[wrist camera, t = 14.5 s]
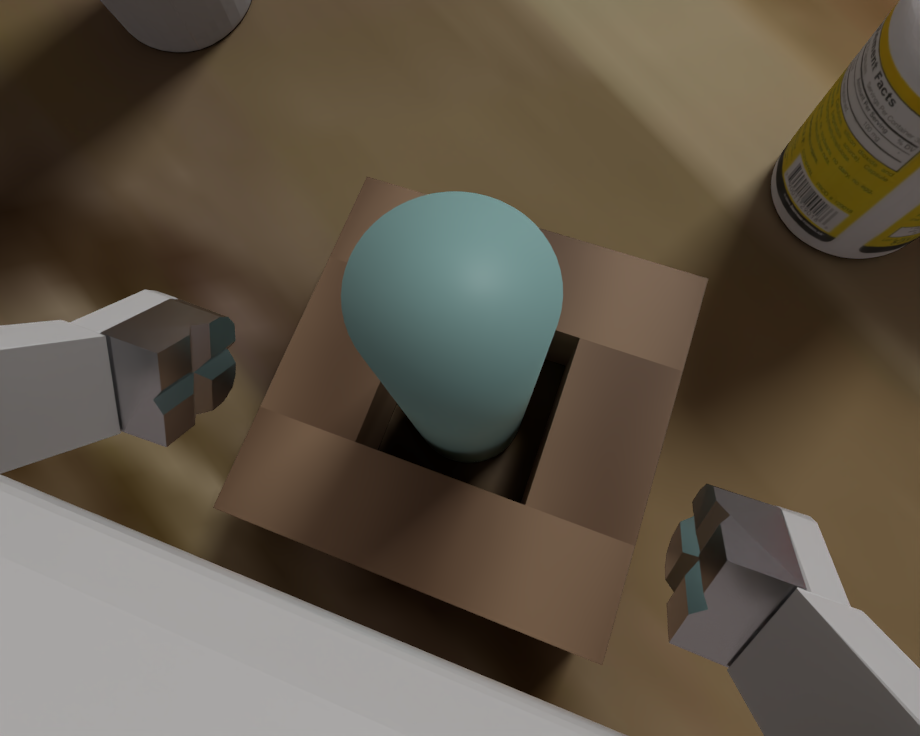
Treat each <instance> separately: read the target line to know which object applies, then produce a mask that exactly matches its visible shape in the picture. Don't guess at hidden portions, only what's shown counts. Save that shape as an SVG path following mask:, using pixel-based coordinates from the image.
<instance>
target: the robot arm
mask: <svg viewBox="0 0 920 736" xmlns="http://www.w3.org/2000/svg"><path fill="white" fill-rule="evenodd" d="M234 342H235V326H234V323H233V322H232V321H231V320H230V319H229V317H227V316H224V315H221V314H218V313H216V312H213V311H210V310H208V309H205V308H202V307H200V306H197V305H194V304H191V303H189V302H186V301H183V300H181V299H177V298H175V297H172V296H170V295H167V294H164V293H161V292H158V291H153V290H143V291H141V292H139V293H136V294H134V295H132V296H129V297H127V298H125V299H123V300H120V301H118V302H116V303H113V304H111V305H109V306H107V307H104V308H102V309H100V310H97V311H95V312H93V313H90V314H88V315H86V316H84V317H81V318H79V319H77V320H74V321H72V322H70V323H69V322H66V321H63V320H55V321H44V322H34V323H24V324H13V325H3V326H0V474H1V473H4V472H7V471H10V470H13V469H16V468H19V467H22V466H25V465H28V464H31V463H34V462H37V461H40V460H43V459H46V458H49V457H52V456H55V455H58V454H61V453H64V452H67V451H70V450H73V449H76V448H79V447H82V446H85V445H88V444H91V443H93V442H96V441H99V440H102V439H105V438H108V437H111V436H114V435H117V434H120V433H121V432H120V431H122V432H125V433H128V434H131V435H134V436H137V437H139V438H142V439H145V440H148V441H151V442H153V443H156V444H159V445H162V446H165V447H167V446H169V445H170V444H171V443H172V442H174V441H175V440H176V439H178V438H179V437H180V436H181V435H183V434H184V433H185V432H186V431H188V430H189V429H190V428H191V427H193V426H194V425H195V418H196V414H201V413H205V412H209V411H213V410H214V409H215V408H216V407H217V406H219V405H220V404H221V403H222V402H223V401H224V400H225V398H226V397H227V395H228V393H229V392H230V390H231V389H232V387H233V383H234V379H235V370H236V363H235V361H234V359H233V357H232V356H231V354H230V352H229V350H228V348H229V347H230V346H231V345H232V344H233V343H234ZM692 503H693V512H694V516H693V517H691V518H689V519H686V520H684V521H681V522H680V523H679V525H678V527H677V528H676V530H675V532H674V534H673V536H672V538H671V541H670V544H669V547H668V550H667V554H666V562H665V580H666V581H667V583H668V584H669V586H670V587H671V589H672V590H673V591H674V593H673V595H672V596H671V598H670V599H669V601H668V603H667V618H668V635H669V643H671V644H673V645H676V646H678V647H680V648H683V649H685V650H688V651H690V652H692V653H695V654H697V655H700V656H702V657H704V658H707V659H709V660H712V661H714V662H716V663H719V664H721V665H723V666H726V667H728V669H727V671H728V673H729V674H730V676H731V678H732V680H733V681H734V683H735V685H736V687H737V688H738V690H739V692H740V694H741V696H742V697H743V699H744V701H745V703H746V704H747V706H748V708H749V710H750V711H751V713H752V715H753V717H754V719H755V720H756V722H757V724H758V726H759V727H760V729H761V731H762V733H763V734H764V736H920V669H919V668H918V667H917V666H916V665H915V664H914V663H913V662H912V661H911V660H910V659H909V658H908V657H907V656H906V655H905V654H904V653H903V652H902V650H901V649H900V648H899V647H898V646H897V645H896V644H895V643H894V642H893V641H892V640H891V639H890V638H889V637H888V636H887V635H886V634H885V633H884V632H883V631H882V630H881V629H880V628H879V627H878V626H877V625H876V624H875V623H874V622H873V621H872V620H871V619H870V618H869V617H868V616H867V615H866V614H865V613H864V612H863V611H861V610H858V609H855V608H853V607H851V606H850V604H849V601H848V599H847V596H846V594H845V591H844V589H843V586H842V584H841V581H840V579H839V576H838V574H837V571H836V569H835V566H834V564H833V561H832V559H831V556H830V554H829V551H828V549H827V546H826V544H825V541H824V539H823V536H822V534H821V531H820V529H819V526H818V524H817V522H816V521H815V520H814V519H812V518H811V517H810V516H807V515H804V514H801V513H798V512H795V511H791V510H788V509H785V508H782V507H779V506H773V505H770V504H767V503H764V502H761V501H758V500H755V499H752V498H749V497H746V496H743V495H740V494H737V493H734V492H731V491H728V490H725V489H722V488H719V487H716V486H713V485H710V484H706V485H705V486H704V487H703V488H702V489H700V491H699V492H698V494H697V495H696V497H695V498H694V500H693V502H692ZM0 736H627V735H625V734H622V733H620V732H617V731H615V730H613V729H610V728H608V727H605V726H603V725H601V724H598V723H596V722H593V721H591V720H589V719H586V718H584V717H581V716H579V715H577V714H574V713H572V712H569V711H567V710H565V709H562V708H560V707H557V706H555V705H553V704H550V703H548V702H545V701H543V700H541V699H538V698H536V697H533V696H531V695H529V694H526V693H524V692H521V691H519V690H517V689H514V688H512V687H509V686H507V685H505V684H502V683H500V682H497V681H495V680H493V679H490V678H488V677H485V676H483V675H481V674H478V673H476V672H473V671H471V670H469V669H466V668H464V667H461V666H459V665H457V664H454V663H452V662H449V661H447V660H445V659H442V658H440V657H437V656H435V655H433V654H430V653H428V652H425V651H423V650H421V649H418V648H416V647H413V646H411V645H409V644H406V643H404V642H401V641H399V640H396V639H394V638H392V637H389V636H387V635H384V634H382V633H380V632H377V631H375V630H372V629H370V628H368V627H365V626H363V625H360V624H358V623H356V622H353V621H351V620H348V619H346V618H344V617H341V616H339V615H336V614H334V613H332V612H329V611H327V610H324V609H322V608H320V607H317V606H315V605H312V604H310V603H308V602H305V601H303V600H300V599H298V598H296V597H293V596H291V595H288V594H286V593H284V592H281V591H279V590H276V589H274V588H272V587H269V586H267V585H264V584H262V583H260V582H257V581H255V580H252V579H250V578H248V577H245V576H243V575H240V574H238V573H236V572H233V571H231V570H228V569H226V568H224V567H221V566H219V565H216V564H214V563H212V562H209V561H207V560H204V559H202V558H200V557H197V556H195V555H192V554H190V553H188V552H185V551H183V550H180V549H178V548H176V547H173V546H171V545H168V544H166V543H164V542H161V541H159V540H156V539H154V538H152V537H149V536H147V535H144V534H142V533H140V532H137V531H135V530H132V529H130V528H128V527H125V526H123V525H120V524H118V523H116V522H113V521H111V520H108V519H106V518H104V517H101V516H99V515H96V514H94V513H92V512H89V511H87V510H84V509H82V508H80V507H77V506H75V505H72V504H70V503H68V502H65V501H63V500H60V499H58V498H56V497H53V496H51V495H48V494H46V493H44V492H41V491H39V490H36V489H34V488H32V487H29V486H27V485H24V484H22V483H20V482H17V481H15V480H12V479H10V478H7V477H5V476H3V475H0Z"/></svg>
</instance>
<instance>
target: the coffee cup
mask: <svg viewBox="0 0 920 736" xmlns="http://www.w3.org/2000/svg"><path fill="white" fill-rule="evenodd" d="M100 1H101V2H102V3H103V4H104V5H105V6H106V8H107V9H108V10H109V11H110V12H111V13H112V14H113V15H114V16H115V18H116V19H117V20H118V21H119V22H120V23H121V24H122V25H123V27H124V28H125V29H126V30H127V31H128V32H129V33H130V34H131V35H132V36H134V37H135V38H136V39H137V40H139V41H140V42H142V43H144V44H146V45H148V46H150V47H153V48H156V49H159V50H162V51H169V52H190V51H195V50H200V49H203V48H205V47H208V46H210V45H213V44H214V43H216V42H217V41H219V40H221V39H222V38H224V37H225V36H226V35H227V34H229V33H230V32H231V31H232V30H233V29H234V28H235V27H236V26H237V25H238V23H239V22H240V21H241V20H242V18H243V17H244V15H245V13H246V12H247V10H248V8H249V5H250V3H251V0H100Z"/></svg>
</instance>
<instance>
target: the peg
mask: <svg viewBox="0 0 920 736" xmlns="http://www.w3.org/2000/svg"><path fill="white" fill-rule="evenodd" d="M562 302H563V281H562V276H561V270H560V267H559V263H558V260H557V257H556V255H555V253H554V251H553V249H552V247H551V245H550V243H549V242H548V240H547V239H546V237H545V236H544V234H543V233H542V232H541V231H540V229H539V228H538V227H537V226H536V225H535V224H534V223H533V222H532V221H531V220H530V219H529V218H527V217H526V216H525V215H524V214H523V213H521V212H520V211H518V210H517V209H515V208H514V207H512V206H510V205H508V204H506V203H504V202H502V201H500V200H497V199H494V198H491V197H489V196H485V195H480V194H476V193H469V192H441V193H433V194H429V195H424V196H420V197H418V198H415V199H412V200H409V201H407V202H405V203H403V204H401V205H399V206H397V207H395V208H393V209H392V210H390V211H389V212H387V213H386V214H384V215H383V216H382V217H380V218H379V219H378V220H377V221H376V222H375V223H373V224H372V226H371V227H370V228H369V229H368V230H367V231H366V232H365V233H364V234H363V236H362V237H361V238H360V240H359V241H358V243H357V244H356V246H355V248H354V250H353V251H352V253H351V255H350V257H349V260H348V262H347V265H346V268H345V271H344V276H343V280H342V288H341V307H342V313H343V318H344V323H345V326H346V329H347V331H348V334H349V336H350V338H351V340H352V342H353V344H354V346H355V348H356V349H357V351H358V352H359V353H360V355H361V356H362V358H363V359H364V360H365V362H366V363H367V364H368V366H369V367H370V368H371V370H372V371H373V372H374V373H375V375H376V376H377V377H378V379H379V380H380V381H381V383H382V384H383V385H384V387H385V388H386V389H387V391H388V392H389V393H390V395H391V396H392V397H393V399H394V400H395V401H396V402H397V404H398V405H399V406H400V408H401V409H402V410H403V412H404V413H405V414H406V416H407V417H408V418H409V420H410V421H411V422H412V424H413V425H414V426H415V427H416V429H417V430H418V431H419V433H420V434H421V435H422V437H423V438H424V439H425V441H426V442H427V443H428V444H429V445H430V447H431V448H432V449H434V450H435V451H436V452H437V453H439V454H440V455H442V456H443V457H446V458H448V459H450V460H453V461H457V462H463V463H475V462H481V461H485V460H488V459H490V458H493V457H494V456H496V455H498V454H499V453H501V452H502V451H503V450H505V449H506V448H507V447H508V446H509V445H510V443H511V442H512V441H513V439H514V438H515V436H516V434H517V432H518V430H519V427H520V425H521V422H522V419H523V417H524V414H525V411H526V409H527V406H528V403H529V400H530V398H531V395H532V392H533V390H534V387H535V384H536V382H537V379H538V376H539V373H540V371H541V368H542V365H543V363H544V360H545V357H546V355H547V352H548V349H549V346H550V344H551V341H552V338H553V336H554V333H555V330H556V328H557V325H558V322H559V318H560V314H561V310H562Z"/></svg>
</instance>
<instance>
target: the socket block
mask: <svg viewBox="0 0 920 736" xmlns="http://www.w3.org/2000/svg"><path fill="white" fill-rule="evenodd" d="M424 195H427V194H423V193H420V192H417V191H413V190H410V189H407V188H403V187H400V186H397V185H393V184H390V183H387V182H383V181H380V180H377V179H373V178H370V177H367V178H366V180H365V182H364V184H363V187H362V189H361V191H360V193H359V195H358V197H357V199H356V202H355V204H354V206H353V208H352V210H351V212H350V214H349V217H348V219H347V221H346V223H345V225H344V227H343V229H342V232H341V234H340V236H339V238H338V240H337V242H336V245H335V247H334V249H333V251H332V253H331V255H330V257H329V260H328V262H327V264H326V266H325V268H324V270H323V272H322V275H321V277H320V279H319V281H318V283H317V285H316V288H315V290H314V292H313V294H312V296H311V298H310V300H309V303H308V305H307V307H306V309H305V311H304V313H303V315H302V318H301V320H300V322H299V324H298V326H297V328H296V330H295V333H294V335H293V337H292V339H291V341H290V343H289V346H288V348H287V350H286V352H285V354H284V356H283V358H282V361H281V363H280V365H279V367H278V369H277V371H276V373H275V376H274V378H273V380H272V382H271V384H270V386H269V389H268V391H267V393H266V395H265V397H264V399H263V401H262V404H261V406H260V408H259V410H258V412H257V414H256V416H255V419H254V421H253V423H252V425H251V427H250V429H249V432H248V434H247V436H246V438H245V440H244V442H243V444H242V447H241V449H240V451H239V453H238V455H237V457H236V459H235V462H234V464H233V466H232V468H231V470H230V472H229V474H228V477H227V479H226V481H225V483H224V485H223V487H222V490H221V492H220V494H219V496H218V498H217V500H216V502H215V505H214V507H213V508H215V509H218V510H220V511H223V512H225V513H228V514H230V515H233V516H235V517H238V518H240V519H242V520H245V521H247V522H250V523H252V524H255V525H257V526H260V527H262V528H265V529H267V530H270V531H272V532H275V533H277V534H279V535H282V536H284V537H287V538H289V539H292V540H294V541H297V542H299V543H302V544H304V545H307V546H309V547H312V548H314V549H316V550H319V551H321V552H324V553H326V554H329V555H331V556H334V557H336V558H339V559H341V560H344V561H346V562H348V563H351V564H353V565H356V566H358V567H361V568H363V569H366V570H368V571H371V572H373V573H376V574H378V575H381V576H383V577H385V578H388V579H390V580H393V581H395V582H398V583H400V584H403V585H405V586H408V587H410V588H413V589H415V590H418V591H420V592H422V593H425V594H427V595H430V596H432V597H435V598H437V599H440V600H442V601H445V602H447V603H450V604H452V605H455V606H457V607H459V608H462V609H464V610H467V611H469V612H472V613H474V614H477V615H479V616H482V617H484V618H487V619H489V620H491V621H494V622H496V623H499V624H501V625H504V626H506V627H509V628H511V629H514V630H516V631H519V632H521V633H524V634H526V635H528V636H531V637H533V638H536V639H538V640H541V641H543V642H546V643H548V644H551V645H553V646H556V647H558V648H561V649H563V650H565V651H568V652H570V653H573V654H575V655H578V656H580V657H583V658H585V659H588V660H590V661H593V662H595V663H598V664H600V665H603V661H604V658H605V654H606V651H607V647H608V643H609V640H610V636H611V632H612V629H613V625H614V621H615V618H616V614H617V610H618V607H619V603H620V599H621V596H622V592H623V588H624V585H625V581H626V577H627V574H628V570H629V567H630V563H631V559H632V556H633V552H634V548H635V545H636V541H637V537H638V534H639V530H640V526H641V523H642V519H643V515H644V512H645V508H646V504H647V501H648V497H649V494H650V490H651V486H652V483H653V479H654V475H655V472H656V468H657V464H658V461H659V457H660V453H661V450H662V446H663V442H664V439H665V435H666V431H667V428H668V424H669V420H670V417H671V413H672V410H673V406H674V402H675V399H676V395H677V391H678V388H679V384H680V380H681V377H682V373H683V369H684V366H685V362H686V358H687V355H688V351H689V347H690V344H691V340H692V336H693V333H694V329H695V326H696V322H697V318H698V315H699V311H700V307H701V304H702V300H703V296H704V293H705V289H706V285H707V282H708V278H704V277H701V276H698V275H694V274H691V273H688V272H684V271H681V270H678V269H674V268H671V267H668V266H664V265H661V264H658V263H654V262H651V261H648V260H644V259H641V258H637V257H634V256H631V255H627V254H624V253H621V252H617V251H614V250H611V249H607V248H604V247H601V246H597V245H594V244H591V243H587V242H584V241H581V240H577V239H574V238H571V237H567V236H564V235H561V234H557V233H554V232H551V231H547V230H544V229H540V228H539V229H540V231H541V232H542V233H543V234H544V236H545V237H546V239H547V240H548V242H549V243H550V245H551V247H552V249H553V251H554V253H555V255H556V257H557V260H558V263H559V267H560V270H561V276H562V281H563V302H562V310H561V314H560V318H559V322H558V325H557V328H556V330H555V333H554V336H553V338H552V341H551V344H550V346H549V349H548V352H547V355H546V357H545V359H546V360H549V361H552V362H555V363H558V364H561V365H564V366H566V367H565V370H564V373H563V376H562V379H561V382H560V385H559V388H558V391H557V394H556V397H555V400H554V403H553V406H552V409H551V412H550V415H549V418H548V421H547V424H546V427H545V430H544V433H543V436H542V439H541V442H540V445H539V448H538V451H537V454H536V457H535V461H534V464H533V467H532V470H531V473H530V476H529V479H528V482H527V485H526V488H525V491H524V494H523V497H522V500H521V503H518V502H515V501H513V500H510V499H507V498H504V497H502V496H499V495H496V494H494V493H491V492H488V491H486V490H483V489H480V488H478V487H475V486H472V485H470V484H467V483H464V482H461V481H459V480H456V479H453V478H451V477H448V476H445V475H443V474H440V473H437V472H435V471H432V470H429V469H427V468H424V467H421V466H418V465H416V464H413V463H410V462H408V461H405V460H402V459H400V458H397V457H394V456H392V455H389V454H386V453H384V452H381V451H378V448H379V446H380V443H381V441H382V438H383V436H384V433H385V431H386V428H387V426H388V423H389V421H390V418H391V416H392V413H393V411H394V408H395V406H396V404H397V402H396V401H395V400H394V399H393V397H392V396H391V395H390V393H389V392H388V391H387V389H386V388H385V387H384V385H383V384H382V383H381V381H380V380H379V379H378V377H377V376H376V375H375V373H374V372H373V371H372V370H371V368H370V367H369V366H368V364H367V363H366V362H365V360H364V359H363V358H362V356H361V355H360V353H359V352H358V351H357V349H356V348H355V346H354V344H353V342H352V340H351V338H350V336H349V334H348V331H347V329H346V326H345V323H344V318H343V313H342V307H341V288H342V280H343V276H344V271H345V268H346V265H347V262H348V260H349V257H350V255H351V253H352V251H353V250H354V248H355V246H356V244H357V243H358V241H359V240H360V238H361V237H362V236H363V234H364V233H365V232H366V231H367V230H368V229H369V228H370V227H371V226H372V224H373V223H375V222H376V221H377V220H378V219H379V218H380V217H382V216H383V215H384V214H386V213H387V212H389V211H390V210H392V209H393V208H395V207H397V206H399V205H401V204H403V203H405V202H407V201H409V200H412V199H415V198H418V197H420V196H424Z"/></svg>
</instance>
